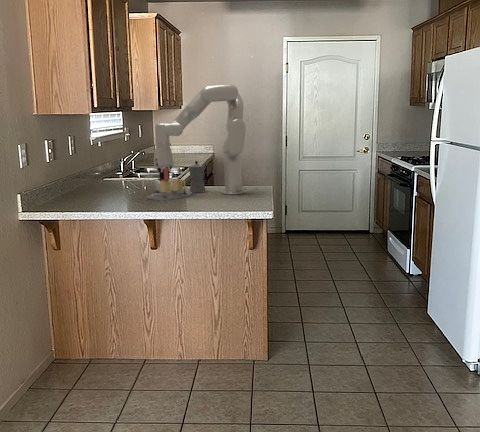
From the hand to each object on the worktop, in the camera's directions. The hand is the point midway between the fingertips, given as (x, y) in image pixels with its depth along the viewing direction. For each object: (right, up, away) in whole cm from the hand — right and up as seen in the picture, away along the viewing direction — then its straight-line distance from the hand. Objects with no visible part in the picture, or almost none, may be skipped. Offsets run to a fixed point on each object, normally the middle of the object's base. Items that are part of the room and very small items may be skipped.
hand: (164, 178), depth 304 cm
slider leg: (+2, -9, 0) cm, 9 cm away
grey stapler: (-3, -7, +18) cm, 20 cm away
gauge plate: (+4, -10, +2) cm, 11 cm away
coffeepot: (+17, -6, +19) cm, 26 cm away
